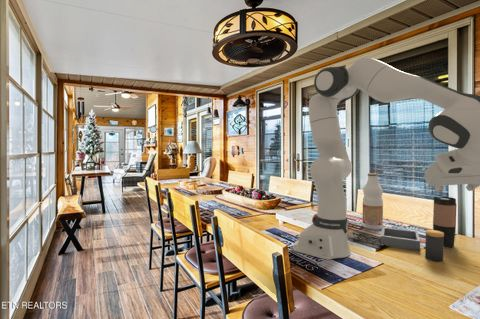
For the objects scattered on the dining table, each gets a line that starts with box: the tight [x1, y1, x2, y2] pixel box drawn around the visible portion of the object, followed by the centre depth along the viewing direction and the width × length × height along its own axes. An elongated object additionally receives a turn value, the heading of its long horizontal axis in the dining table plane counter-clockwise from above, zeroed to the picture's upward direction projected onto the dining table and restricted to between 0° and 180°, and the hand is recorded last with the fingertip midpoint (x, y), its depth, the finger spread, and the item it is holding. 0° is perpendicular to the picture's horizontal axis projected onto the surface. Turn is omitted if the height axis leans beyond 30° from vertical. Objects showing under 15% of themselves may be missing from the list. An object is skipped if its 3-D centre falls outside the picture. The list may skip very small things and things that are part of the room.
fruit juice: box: [362, 172, 384, 231], centre depth 141 cm, size 9×9×28 cm
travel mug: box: [432, 196, 457, 249], centre depth 116 cm, size 8×8×20 cm
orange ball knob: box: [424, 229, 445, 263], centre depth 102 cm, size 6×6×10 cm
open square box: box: [380, 226, 421, 252], centre depth 119 cm, size 14×14×4 cm
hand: (453, 189), depth 90 cm, fingers open, 8 cm apart
